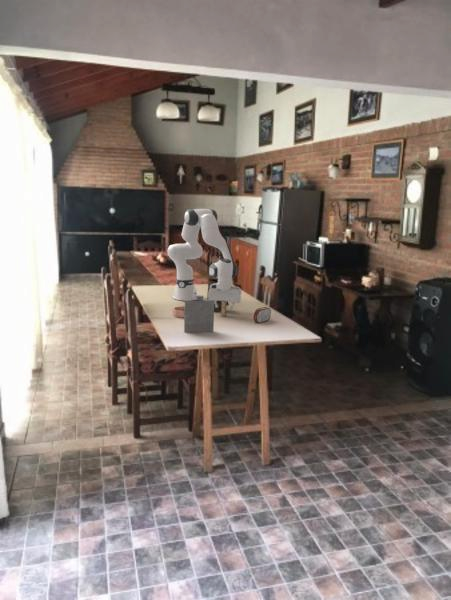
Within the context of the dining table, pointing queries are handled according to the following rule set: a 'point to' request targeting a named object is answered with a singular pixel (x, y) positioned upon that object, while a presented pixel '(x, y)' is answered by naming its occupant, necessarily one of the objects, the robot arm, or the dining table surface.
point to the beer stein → (212, 281)
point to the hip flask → (199, 315)
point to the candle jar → (179, 311)
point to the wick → (223, 308)
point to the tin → (262, 314)
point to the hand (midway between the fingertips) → (224, 308)
